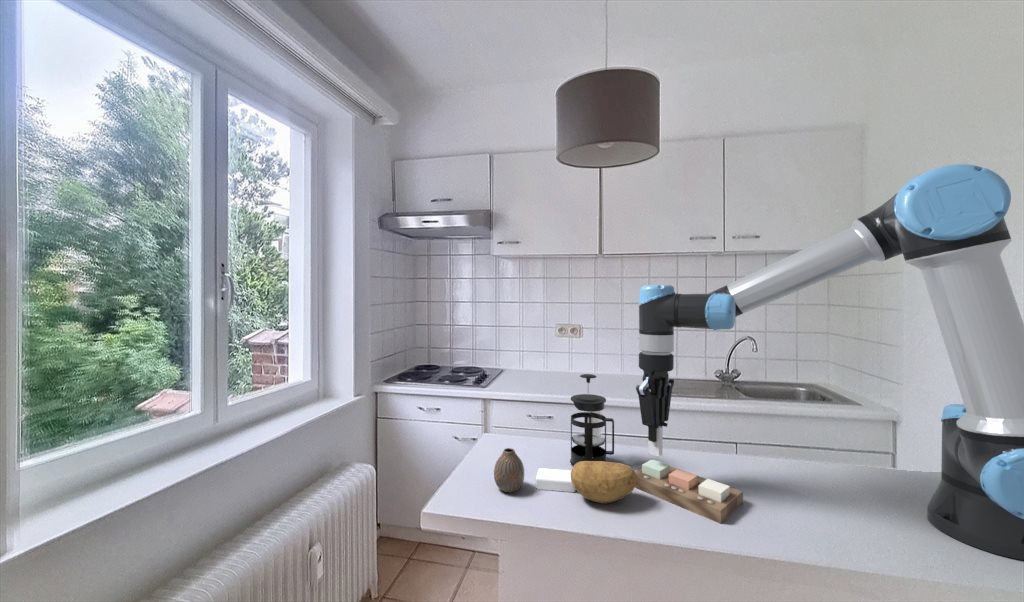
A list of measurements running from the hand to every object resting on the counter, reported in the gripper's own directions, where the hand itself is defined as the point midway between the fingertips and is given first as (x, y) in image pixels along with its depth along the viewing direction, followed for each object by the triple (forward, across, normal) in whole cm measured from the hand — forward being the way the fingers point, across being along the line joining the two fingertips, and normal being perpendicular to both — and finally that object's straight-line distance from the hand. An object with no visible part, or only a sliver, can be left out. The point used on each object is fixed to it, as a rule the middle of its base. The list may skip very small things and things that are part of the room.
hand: (655, 453), depth 92 cm
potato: (+7, +15, -3) cm, 17 cm away
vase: (+7, +27, -20) cm, 35 cm away
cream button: (+6, 0, +13) cm, 14 cm away
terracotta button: (+6, 0, +7) cm, 9 cm away
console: (+7, 0, +7) cm, 9 cm away
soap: (+7, +18, -14) cm, 24 cm away
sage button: (+6, 0, 0) cm, 6 cm away
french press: (+7, +3, -16) cm, 18 cm away
